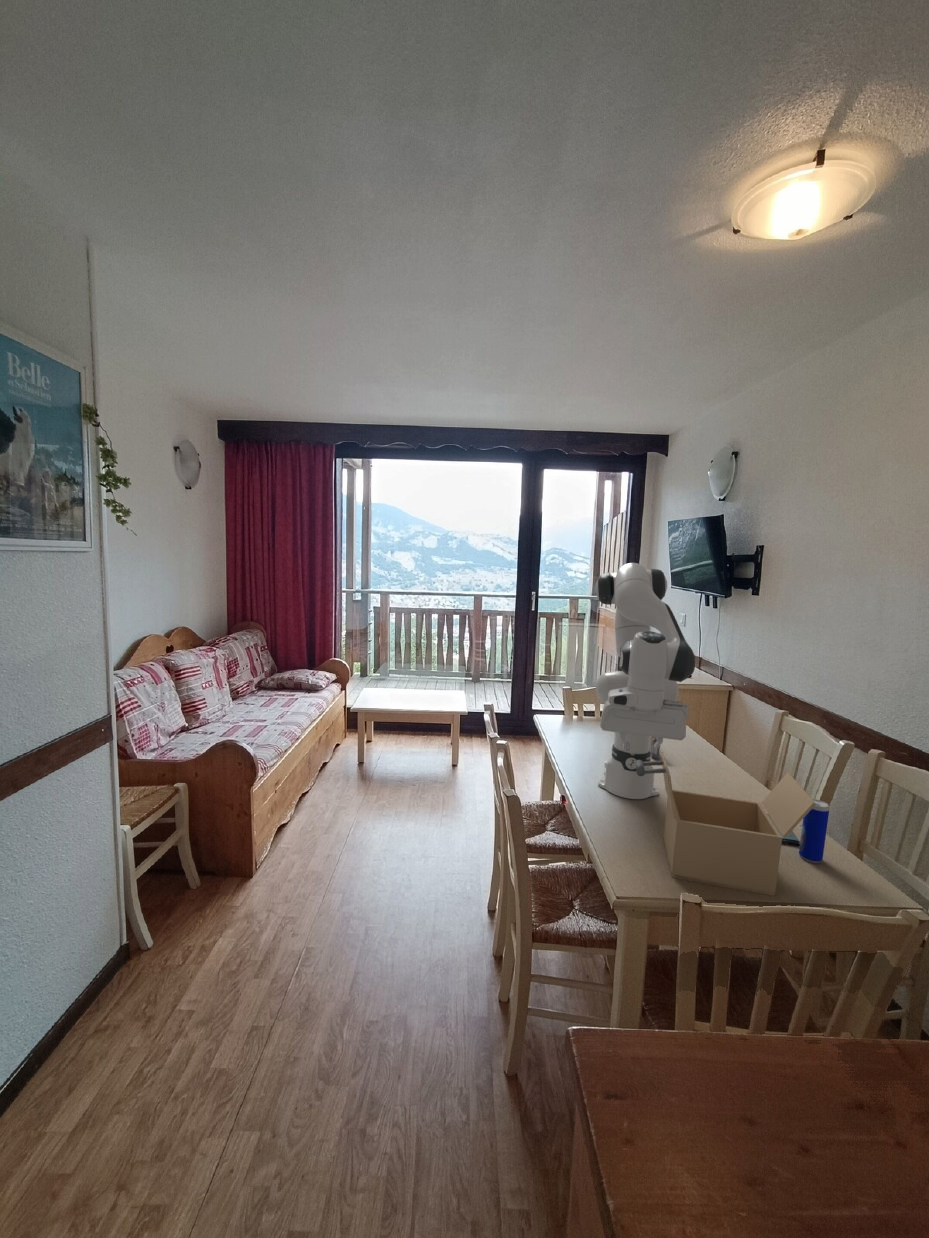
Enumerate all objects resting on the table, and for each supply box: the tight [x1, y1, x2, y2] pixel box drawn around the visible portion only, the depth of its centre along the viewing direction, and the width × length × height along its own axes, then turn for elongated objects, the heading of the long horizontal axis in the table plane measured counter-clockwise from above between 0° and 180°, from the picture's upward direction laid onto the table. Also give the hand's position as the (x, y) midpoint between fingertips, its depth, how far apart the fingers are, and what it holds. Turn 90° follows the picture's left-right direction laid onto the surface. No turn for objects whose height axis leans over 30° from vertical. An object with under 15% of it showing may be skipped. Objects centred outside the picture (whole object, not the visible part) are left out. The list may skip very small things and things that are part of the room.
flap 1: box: [635, 751, 676, 819], centre depth 133 cm, size 17×10×7 cm
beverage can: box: [798, 798, 830, 864], centre depth 136 cm, size 5×5×15 cm
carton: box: [663, 789, 783, 897], centre depth 131 cm, size 18×22×14 cm
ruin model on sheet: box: [650, 737, 661, 760], centre depth 207 cm, size 11×3×10 cm, turn 178°
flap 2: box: [760, 772, 816, 838], centre depth 126 cm, size 17×10×1 cm
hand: (639, 751), depth 133 cm, fingers open, 5 cm apart
